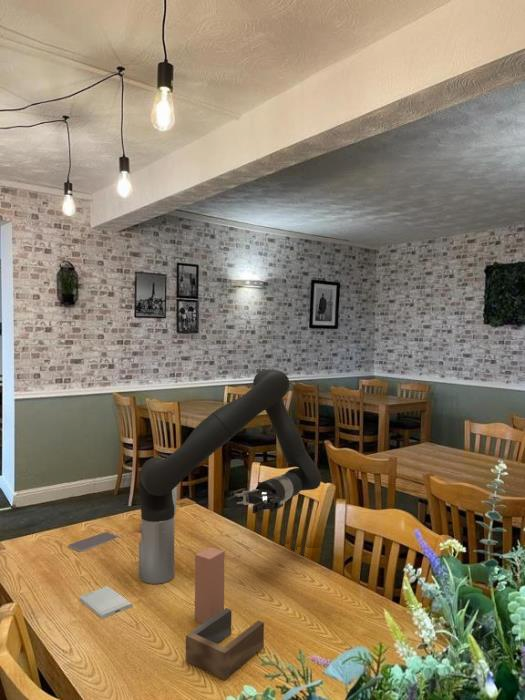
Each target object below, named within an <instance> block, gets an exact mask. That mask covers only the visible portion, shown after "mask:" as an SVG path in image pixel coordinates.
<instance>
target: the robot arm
mask: <svg viewBox="0 0 525 700" xmlns="http://www.w3.org/2000/svg"><path fill="white" fill-rule="evenodd" d="M289 389H290V380H289V377H288V375H287V374H285V373H284V372H283V371H280V370H277V369H262V370H260V371H259V372H257V373H256V374H255V376H254V378H253V381H252V388H250V390H248V391H247V392H246V393H245V394H243V395H242V396H240V397H237V398H236V399H233V400H232V401H230V402H228V403H226V404H224V405H223V406H221V407H219V408H217V409H216V410H214V411H213V412H211V413H210V414H209V415H208V416H207V417H206V418H204V419H203V420H202V421H201V422H199V424H198V425H197V426H196V427H195V428H194V429H193V430H192V432H191V433H190V434H189V436H188V437H187V438H186V440H185V441H184V442H183V444H181V446H179V447H178V448H177V450H175V451H174V452H172V453H171V454H169V456H166V458H163V457H157V456H156V457H151V458H149V459H147V460H146V461H145V462H144V463H143V464H142V467H141V468H140V470H139V471H140V472H139V506H140V517H141V519H140V523H141V524H140V533H141V536H140V537H141V538H140V542H138V577H140V579H141V580H142V582H144V583H147V584H152V585H155V584H156V585H157V584H164V583H167V582H170V581H171V580H172V579H173V578H174V577H175V526H176V525H175V516H176V515H175V509H174V503H173V497H172V490H173V489H174V488H175V487H176V486H177V487H178V485H179V484H180V483H181V482H182V481H183V480H184V479H185V478H186V477H187V476H188V475H189V474H190V473H191V472H192V471H193V470H194V469H195V468H196V467H198V466H199V465H200V464H201V463H203V462H204V461H205V460H206V459H207V458H208V459H209V457H210V456H211V455H213V454H214V453H215V452H217V450H219V449H220V448H222V446H224V445H225V444H226V443H228V442H229V441H230V440H231V439H232V438H233V437H235V436H236V434H238V433H239V432H240V431H241V430H243V429H244V428H245V427H246V426H248V424H249V423H251V422H252V421H253V420H254V419H255V418H256V417H257V416H259V414H260V413H262V412H264V411H265V412H266V414H267V417H268V419H269V421H270V423H271V426H272V428H273V429H274V433H275V436H276V438H277V440H278V444H279V447H280V449H281V452H282V454H283V457H284V460H285V462H286V464H289V465H295V466H297V467H295V468H291V469H289V470H287V471H286V472H285V473H284V474H281V475H279V476H274V477H271V478H269V479H266V480H263V481H261V482H259V483H258V484H257V485H256V488H254V489H251V490H247V488H245V487H243V488H239V489H236V490H233V491H231V492H230V497H228V498H227V499H226V508H231V507H234V506H236V505H238V504H243V505H244V506H247V505H249V506H250V505H252V514H259V513H261V512H267V511H268V510H269V512H272V513H273V512H275V511H277V510H279V509H281V508H282V507H284V503H285V502H287V501H289V499H292V498H294V497H295V496H297V495H299V493H300V492H301V491H312V490H317V489H318V488H319V487H320V486H321V483H322V476H321V473H320V470H319V468H318V466H317V465H316V463H315V462H314V461H313V459H312V458H311V456H310V455H309V453H308V452H307V450H306V447H305V444H304V441H303V438H302V436H301V433H300V432H299V429H298V428H297V426H296V424H295V423H294V420H293V419H292V417H291V416H290V414H289V412H288V410H287V408H286V405H285V402H284V400H283V398H284V397H285V396H286V395H287V393H288V392H289ZM247 500H248V501H247ZM174 515H175V516H174Z"/></svg>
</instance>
